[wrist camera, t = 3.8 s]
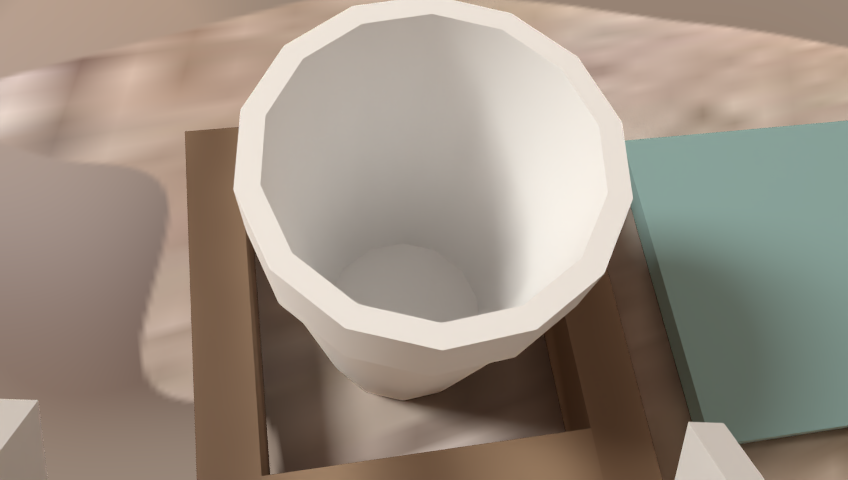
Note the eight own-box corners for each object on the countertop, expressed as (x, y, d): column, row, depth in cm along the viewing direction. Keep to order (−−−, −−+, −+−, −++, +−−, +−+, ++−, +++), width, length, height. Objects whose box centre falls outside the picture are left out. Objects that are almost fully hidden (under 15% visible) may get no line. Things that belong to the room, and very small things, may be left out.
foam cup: (485, 195, 32) (563, -23, 20) (551, 407, 29) (691, 295, 17) (262, 236, 31) (205, 26, 19) (303, 467, 27) (267, 389, 15)
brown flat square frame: (545, 138, 34) (562, 100, 31) (632, 489, 28) (662, 480, 25) (199, 169, 32) (184, 131, 29) (215, 555, 26) (199, 553, 23)
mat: (878, 128, 35) (892, 116, 35) (1001, 403, 30) (1021, 399, 30) (615, 152, 34) (622, 140, 33) (700, 449, 29) (711, 446, 28)
